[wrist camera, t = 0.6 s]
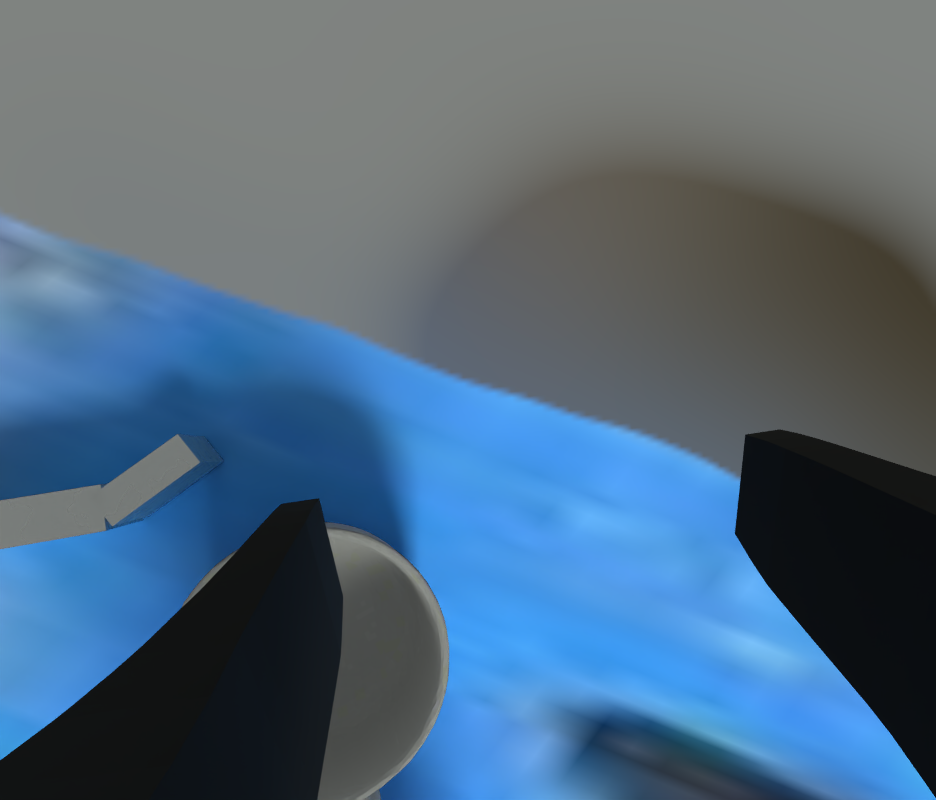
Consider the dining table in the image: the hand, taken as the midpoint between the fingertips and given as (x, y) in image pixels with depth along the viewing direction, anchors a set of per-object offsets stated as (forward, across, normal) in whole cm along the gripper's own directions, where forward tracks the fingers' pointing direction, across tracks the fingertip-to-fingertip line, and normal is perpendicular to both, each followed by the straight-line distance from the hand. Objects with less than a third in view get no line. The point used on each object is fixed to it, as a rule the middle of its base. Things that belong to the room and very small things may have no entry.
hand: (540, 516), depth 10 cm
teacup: (+15, +8, +17) cm, 24 cm away
